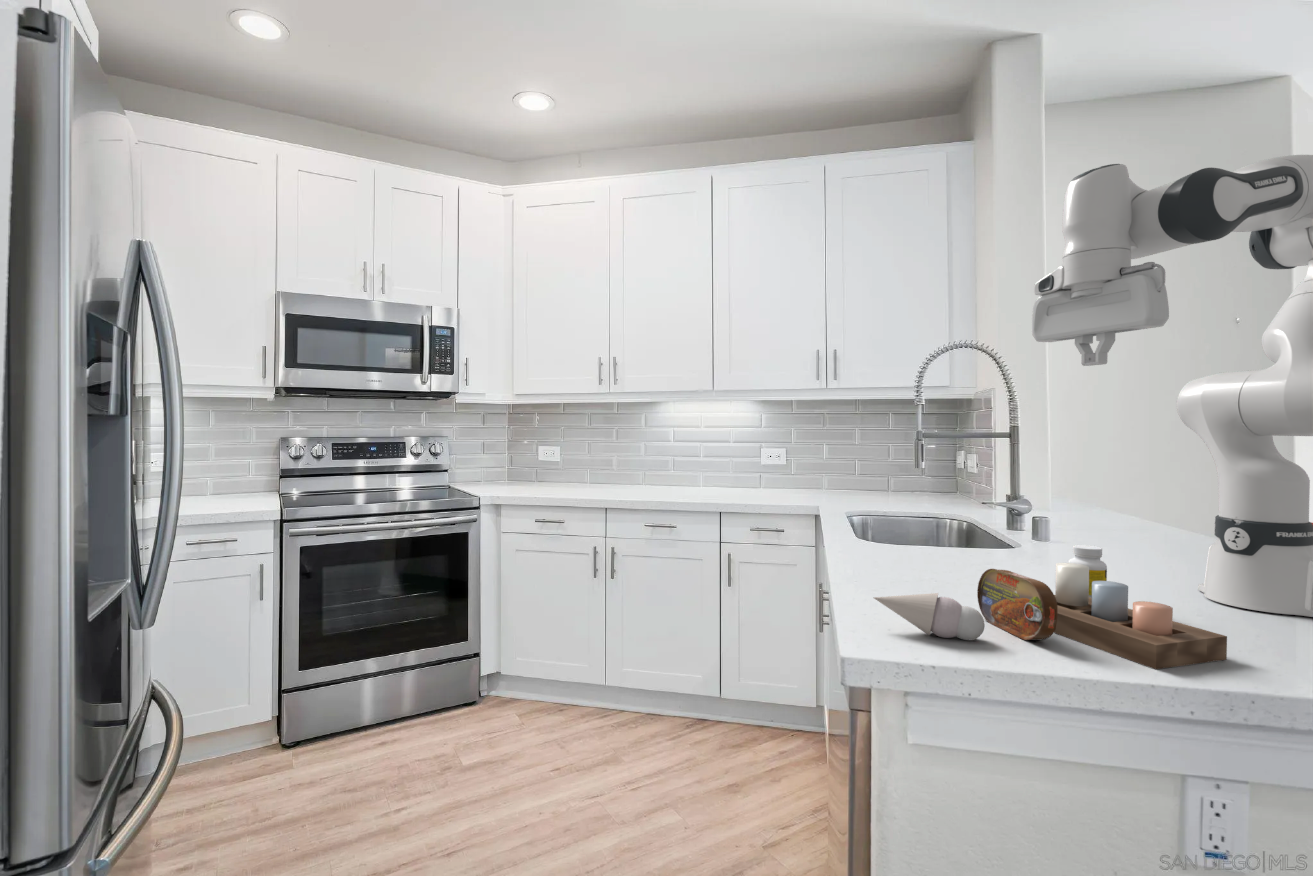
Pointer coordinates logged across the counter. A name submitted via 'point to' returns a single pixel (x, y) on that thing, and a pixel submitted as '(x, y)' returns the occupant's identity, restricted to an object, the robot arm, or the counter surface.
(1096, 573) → the supplement bottle
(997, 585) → the tin
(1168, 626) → the salmon pink cylinder
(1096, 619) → the wooden spice rack
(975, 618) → the ice cream cone
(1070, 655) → the counter surface
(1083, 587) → the key ivory
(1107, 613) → the key slate
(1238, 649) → the counter surface
